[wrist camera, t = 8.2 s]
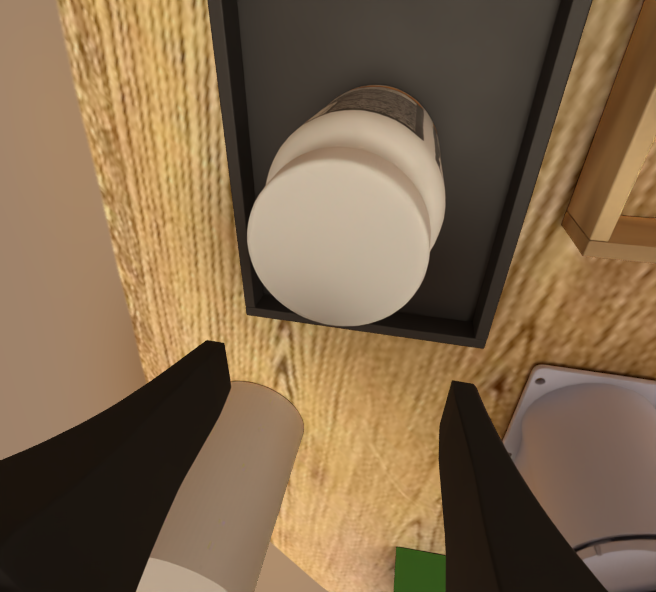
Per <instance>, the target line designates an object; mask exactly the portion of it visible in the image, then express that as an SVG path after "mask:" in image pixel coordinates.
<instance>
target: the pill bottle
mask: <svg viewBox="0 0 656 592" xmlns="http://www.w3.org/2000/svg"><path fill="white" fill-rule="evenodd" d="M445 206H446V193H445V186H444V178H443V172H442V165H441V154H440V147H439V141H438V136H437V132H436V129H435V126H434V124H433V122H432V120H431V118H430V116H429V115H428V113H427V112H426V110H425V109H424V108H423V107H422V105H421V104H420V103H419V102H418V101H417V100H416V99H414V98H413V97H412V96H410V95H409V94H407V93H405V92H403V91H401V90H399V89H397V88H394V87H390V86H385V85H367V86H362V87H358V88H355V89H352V90H350V91H348V92H345V93H344V94H342V95H340V96H338V97H337V98H336V99H334V100H333V101H332V102H331V103H329V104H328V105H327V106H326V107H325V108H324V109H322V110H321V111H319V112H318V113H317V114H316V115H314V116H313V117H312V118H310V119H309V120H308V121H307V122H305V123H304V124H303V125H302V126H300V127H299V128H298V129H297V130H296V131H295V132H294V133H292V134H291V135H290V136H289V137H288V139H287V140H286V141H285V142H284V143H283V145H282V146H281V147H280V149H279V151H278V152H277V154H276V156H275V158H274V160H273V162H272V165H271V167H270V170H269V173H268V177H267V181H266V186H265V187H264V189H263V190H262V191H261V193H260V194H259V196H258V197H257V199H256V201H255V203H254V205H253V208H252V210H251V214H250V217H249V222H248V229H247V244H248V250H249V255H250V258H251V262H252V264H253V267H254V269H255V271H256V273H257V275H258V277H259V279H260V280H261V282H262V283H263V284H264V286H265V287H266V288H267V290H268V291H269V292H270V293H271V294H272V295H273V296H274V297H275V298H276V299H277V300H278V301H279V302H280V303H282V304H283V305H284V306H286V307H287V308H288V309H290V310H292V311H293V312H295V313H296V314H298V315H300V316H302V317H305V318H307V319H309V320H312V321H315V322H319V323H322V324H327V325H334V326H359V325H364V324H369V323H372V322H376V321H379V320H381V319H384V318H386V317H388V316H390V315H392V314H393V313H395V312H396V311H397V310H399V309H400V308H402V307H403V306H404V305H405V304H406V303H407V302H408V301H409V300H410V299H411V298H412V297H413V295H414V294H415V293H416V291H417V290H418V288H419V287H420V285H421V283H422V281H423V279H424V276H425V274H426V270H427V266H428V263H429V255H430V250H431V249H432V247H433V245H434V244H435V242H436V239H437V237H438V235H439V232H440V229H441V227H442V224H443V220H444V215H445Z"/></svg>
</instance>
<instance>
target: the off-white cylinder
mask: <svg viewBox="0 0 656 592" xmlns="http://www.w3.org/2000/svg"><path fill="white" fill-rule="evenodd" d="M303 432H304V425H303V421H302V418H301V416H300V414H299V412H298V411H297V410H296V408H295V407H294V406H293V405H292V404H291V403H290V402H289V401H288V400H287V399H286V398H284V397H283V396H281V395H280V394H278V393H277V392H275V391H273V390H271V389H269V388H267V387H264V386H261V385H258V384H255V383H250V382H242V381H234V382H231V390H230V392H229V395H228V397H227V400H226V403H225V405H224V407H223V410H222V412H221V414H220V416H219V418H218V420H217V422H216V424H215V425H214V427H213V429H212V431H211V433H210V434H209V436H208V438H207V440H206V441H205V443H204V445H203V447H202V448H201V450H200V452H199V454H198V455H197V457H196V459H195V461H194V462H193V464H192V466H191V468H190V470H189V471H188V473H187V475H186V477H185V478H184V480H183V482H182V484H181V486H180V488H179V490H178V492H177V494H176V497H175V499H174V501H173V503H172V506H171V508H170V510H169V512H168V514H167V517H166V519H165V521H164V524H163V526H162V528H161V531H160V533H159V535H158V538H157V540H156V542H155V545H154V547H153V550H152V552H151V554H150V557H149V560H148V562H147V565H146V567H145V570H144V572H143V575H142V577H141V580H140V582H139V585H138V588H137V590H136V592H254V591H255V587H256V584H257V581H258V578H259V574H260V571H261V568H262V565H263V561H264V558H265V555H266V552H267V549H268V545H269V542H270V539H271V536H272V532H273V529H274V526H275V523H276V520H277V516H278V513H279V510H280V507H281V503H282V500H283V497H284V494H285V491H286V487H287V484H288V481H289V478H290V474H291V471H292V468H293V465H294V462H295V458H296V455H297V452H298V449H299V445H300V442H301V439H302V436H303Z"/></svg>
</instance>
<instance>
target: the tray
mask: <svg viewBox="0 0 656 592" xmlns="http://www.w3.org/2000/svg"><path fill="white" fill-rule="evenodd" d="M591 4H592V0H208V8H209V16H210V24H211V32H212V40H213V48H214V56H215V64H216V73H217V81H218V89H219V97H220V105H221V113H222V121H223V129H224V137H225V145H226V153H227V161H228V169H229V177H230V185H231V193H232V201H233V209H234V217H235V225H236V233H237V241H238V249H239V257H240V265H241V273H242V281H243V289H244V297H245V305H246V313H247V315H251V316H258V317H265V318H272V319H279V320H286V321H293V322H300V323H307V324H314V325H321V326H328V327H335V328H342V329H349V330H356V331H363V332H370V333H377V334H384V335H391V336H398V337H405V338H412V339H419V340H426V341H433V342H440V343H447V344H454V345H461V346H468V347H475V348H482V349H484V347H485V344H486V340H487V338H488V335H489V332H490V328H491V325H492V322H493V319H494V315H495V312H496V309H497V306H498V303H499V299H500V296H501V293H502V290H503V287H504V283H505V280H506V277H507V274H508V270H509V267H510V264H511V261H512V258H513V254H514V251H515V248H516V245H517V242H518V238H519V235H520V232H521V229H522V225H523V222H524V219H525V216H526V213H527V209H528V206H529V203H530V200H531V197H532V193H533V190H534V187H535V184H536V180H537V177H538V174H539V171H540V168H541V164H542V161H543V158H544V155H545V151H546V148H547V145H548V142H549V139H550V135H551V132H552V129H553V126H554V123H555V119H556V116H557V113H558V110H559V106H560V103H561V100H562V97H563V94H564V90H565V87H566V84H567V81H568V78H569V74H570V71H571V68H572V65H573V61H574V58H575V55H576V52H577V49H578V45H579V42H580V39H581V36H582V33H583V29H584V26H585V23H586V20H587V16H588V13H589V10H590V7H591ZM367 85H385V86H390V87H394V88H397V89H399V90H401V91H403V92H405V93H407V94H409V95H410V96H412V97H413V98H414V99H416V100H417V101H418V102H419V103H420V104H421V105H422V107H423V108H424V109H425V110H426V112H427V113H428V115H429V116H430V118H431V120H432V122H433V124H434V126H435V129H436V132H437V136H438V141H439V147H440V154H441V165H442V172H443V178H444V186H445V193H446V206H445V215H444V220H443V224H442V227H441V229H440V232H439V235H438V237H437V239H436V242H435V244H434V245H433V247H432V249H431V250H430V255H429V263H428V266H427V270H426V274H425V276H424V279H423V281H422V283H421V285H420V287H419V288H418V290H417V291H416V293H415V294H414V295H413V297H412V298H411V299H410V300H409V301H408V302H407V303H406V304H405V305H404V306H403V307H402V308H400V309H399V310H397V311H396V312H395V313H393V314H392V315H390V316H388V317H386V318H384V319H381V320H379V321H376V322H372V323H369V324H364V325H359V326H334V325H327V324H322V323H319V322H315V321H312V320H309V319H307V318H305V317H302V316H300V315H298V314H296V313H295V312H293V311H292V310H290V309H288V308H287V307H286V306H284V305H283V304H282V303H280V302H279V301H278V300H277V299H276V298H275V297H274V296H273V295H272V294H271V293H270V292H269V291H268V290H267V288H266V287H265V286H264V284H263V283H262V282H261V280H260V279H259V277H258V275H257V273H256V271H255V269H254V267H253V264H252V262H251V258H250V255H249V250H248V244H247V229H248V222H249V217H250V214H251V210H252V208H253V205H254V203H255V201H256V199H257V197H258V196H259V194H260V193H261V191H262V190H263V189H264V187H265V186H266V181H267V177H268V173H269V170H270V167H271V165H272V162H273V160H274V158H275V156H276V154H277V152H278V151H279V149H280V147H281V146H282V145H283V143H284V142H285V141H286V140H287V139H288V137H289V136H290V135H291V134H292V133H294V132H295V131H296V130H297V129H298V128H299V127H300V126H302V125H303V124H304V123H305V122H307V121H308V120H309V119H310V118H312V117H313V116H314V115H316V114H317V113H318V112H319V111H321V110H322V109H324V108H325V107H326V106H327V105H328V104H329V103H331V102H332V101H333V100H334V99H336V98H337V97H338V96H340V95H342V94H344V93H345V92H348V91H350V90H352V89H355V88H358V87H362V86H367Z"/></svg>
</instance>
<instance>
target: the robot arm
mask: <svg viewBox="0 0 656 592" xmlns="http://www.w3.org/2000/svg"><path fill="white" fill-rule="evenodd" d="M538 378H542V379H540V380H536V379H538ZM230 390H231V381H230V375H229V369H228V363H227V357H226V351H225V345H224V343H221V342H215V341H209V340H207V341H205V342H204V343H202V344H201V345H199V346H198V347H197V348H195V349H194V350H193V351H191V352H190V353H189V354H187V355H186V356H185V357H183V358H182V359H181V360H179V361H178V362H177V363H175V364H174V365H173V366H171V367H170V368H168V369H167V370H166V371H164V372H163V373H161V374H160V375H159V376H157V377H156V378H154V379H153V380H152V381H150V382H149V383H147V384H146V385H144V386H143V387H141V388H140V389H138V390H137V391H135V392H134V393H132V394H131V395H129V396H127V397H126V398H125V399H123V400H121V401H120V402H118V403H117V404H115V405H113V406H112V407H110V408H108V409H107V410H105V411H103V412H101V413H99V414H98V415H96V416H94V417H92V418H90V419H89V420H87V421H85V422H83V423H81V424H79V425H77V426H75V427H73V428H71V429H69V430H67V431H65V432H63V433H61V434H59V435H57V436H55V437H53V438H51V439H49V440H47V441H45V442H42V443H40V444H38V445H36V446H33V447H31V448H29V449H27V450H25V451H22V452H20V453H17V454H15V455H12V456H10V457H8V458H5V459H3V460H0V592H136V590H137V588H138V585H139V582H140V580H141V577H142V575H143V572H144V570H145V567H146V565H147V562H148V560H149V557H150V554H151V552H152V550H153V547H154V545H155V542H156V540H157V538H158V535H159V533H160V531H161V528H162V526H163V524H164V521H165V519H166V517H167V514H168V512H169V510H170V508H171V506H172V503H173V501H174V499H175V497H176V494H177V492H178V490H179V488H180V486H181V484H182V482H183V480H184V478H185V477H186V475H187V473H188V471H189V470H190V468H191V466H192V464H193V462H194V461H195V459H196V457H197V455H198V454H199V452H200V450H201V448H202V447H203V445H204V443H205V441H206V440H207V438H208V436H209V434H210V433H211V431H212V429H213V427H214V425H215V424H216V422H217V420H218V418H219V416H220V414H221V412H222V410H223V407H224V405H225V403H226V400H227V397H228V395H229V392H230ZM439 470H440V482H441V494H442V506H443V518H444V529H445V546H446V592H656V381H653V380H646V379H639V378H633V377H626V376H619V375H612V374H605V373H598V372H591V371H585V370H578V369H571V368H564V367H557V366H550V365H537V366H535V367H534V368H533V369H532V371H531V374H530V376H529V379H528V381H527V383H526V386H525V388H524V391H523V393H522V395H521V398H520V400H519V403H518V405H517V407H516V410H515V412H514V415H513V417H512V419H511V422H510V424H509V427H508V429H507V431H506V434H505V436H504V439H503V441H501V439H500V437H499V435H498V433H497V431H496V429H495V427H494V425H493V423H492V421H491V419H490V417H489V415H488V413H487V411H486V409H485V406H484V404H483V402H482V400H481V397H480V395H479V393H478V390H477V388H476V386H475V385H474V384H471V383H465V382H459V381H452V382H451V386H450V390H449V393H448V397H447V401H446V404H445V408H444V411H443V415H442V419H441V422H440V429H439Z"/></svg>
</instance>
